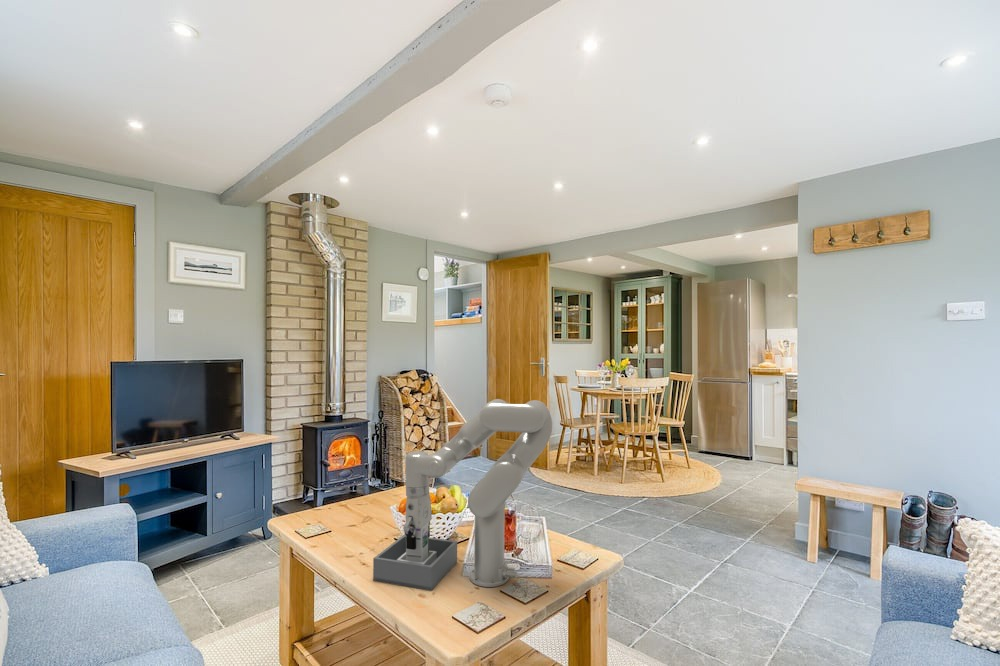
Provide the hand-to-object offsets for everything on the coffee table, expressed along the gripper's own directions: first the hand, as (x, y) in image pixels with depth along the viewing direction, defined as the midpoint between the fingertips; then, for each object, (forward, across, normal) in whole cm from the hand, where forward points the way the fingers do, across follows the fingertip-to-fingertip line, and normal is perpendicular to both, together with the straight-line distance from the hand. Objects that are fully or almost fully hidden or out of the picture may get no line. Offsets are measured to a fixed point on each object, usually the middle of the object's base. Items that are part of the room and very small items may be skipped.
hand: (418, 542), depth 160 cm
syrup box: (+8, 0, 0) cm, 8 cm away
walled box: (+9, 0, +1) cm, 9 cm away
